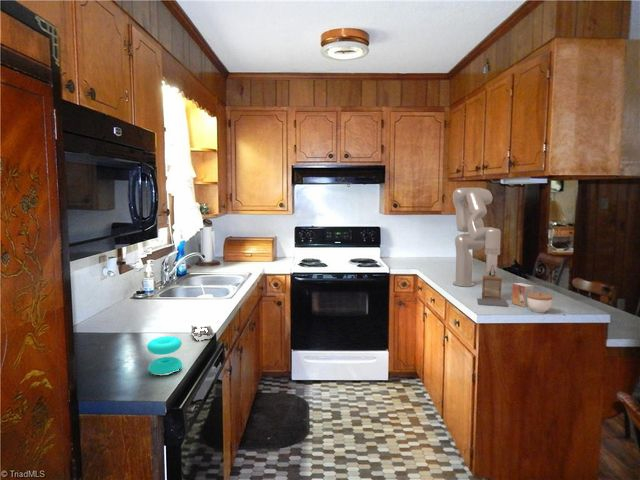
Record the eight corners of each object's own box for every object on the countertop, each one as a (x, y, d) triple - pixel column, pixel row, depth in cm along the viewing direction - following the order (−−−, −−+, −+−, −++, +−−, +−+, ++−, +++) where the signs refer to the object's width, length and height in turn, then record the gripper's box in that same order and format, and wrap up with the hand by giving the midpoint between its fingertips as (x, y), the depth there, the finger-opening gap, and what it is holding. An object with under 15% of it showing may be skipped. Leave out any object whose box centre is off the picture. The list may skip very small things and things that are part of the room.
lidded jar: (550, 315, 196) (551, 295, 195) (525, 312, 201) (525, 292, 200) (552, 310, 205) (553, 291, 204) (527, 307, 210) (528, 288, 209)
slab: (481, 295, 232) (482, 274, 229) (499, 296, 230) (501, 275, 226) (482, 299, 228) (483, 278, 224) (500, 300, 225) (501, 279, 222)
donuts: (187, 335, 137) (170, 346, 127) (188, 366, 138) (172, 378, 128) (158, 334, 139) (140, 344, 129) (159, 364, 140) (141, 376, 130)
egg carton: (190, 335, 170) (190, 325, 170) (210, 332, 173) (209, 322, 173) (194, 342, 161) (193, 332, 160) (214, 340, 164) (213, 329, 163)
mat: (477, 299, 227) (477, 298, 227) (505, 301, 223) (505, 300, 223) (478, 304, 216) (478, 303, 216) (508, 306, 211) (508, 305, 211)
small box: (511, 303, 218) (512, 283, 217) (520, 302, 220) (520, 282, 219) (524, 307, 211) (525, 286, 210) (532, 306, 212) (533, 285, 211)
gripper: (484, 249, 237) (483, 282, 239) (485, 252, 223) (484, 287, 225) (498, 250, 235) (497, 283, 237) (501, 253, 221) (500, 288, 222)
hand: (491, 285), depth 231 cm, fingers closed
